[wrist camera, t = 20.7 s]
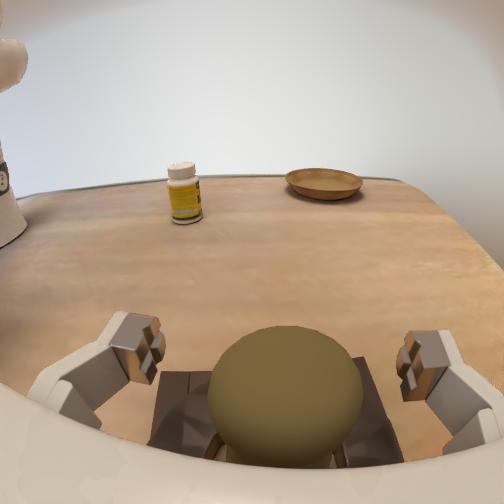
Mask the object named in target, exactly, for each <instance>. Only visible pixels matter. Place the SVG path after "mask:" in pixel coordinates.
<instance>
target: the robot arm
mask: <svg viewBox="0 0 504 504" xmlns="http://www.w3.org/2000/svg"><path fill="white" fill-rule="evenodd" d="M3 10H4V2H3V0H0V26H1V22H2V18H3ZM27 64H28V54H27V50H26V48H25V46H24V45H23V43H22V42H21V41H19V40H12V39H11V40H10V39H1V38H0V93H1V92H3V91H5V90H7V89H9V88H11V87H12V86H14V85H16V84H18V83H19V82H20V80H21V79H22V77H23V75H24V73H25V71H26V68H27ZM26 227H27V222H26V221H25V219H24V216H23V214H22V213H21V211H20V209H19V207H18V204H17V202H16V199H15V196H14V194H13V191H12V188H11V187H10V184H9V173H8V167H7V165H6V162H4V160H3V154H2V148H1V142H0V247H2V246H4V245H5V244H7V243H9V242H10V241H12V240H13V239H15V238H16V237H17V236H18V235H20V234H21V233H22V232H23V231H24V230H25V228H26ZM160 326H161V324H160V321H159V318H157V317H154V316H148V315H142V314H136V313H129V312H123V311H117V312H115V313H114V315H113V316H112V318H111V319H110V321H109V322H108V324H107V325H106V327H105V328H104V330H103V331H102V333H101V334H100V336H99V337H98V339H97V340H96V342H90V343H89V344H87V345H85V346H83V347H82V348H80V349H78V350H76V351H75V352H73V353H71V354H69V355H67V356H66V357H64V358H62V359H60V360H59V361H57V362H55V363H53V364H52V365H50V366H48V367H46V368H45V369H43V370H42V371H41V372H40V374H39V375H38V377H37V378H36V380H35V381H34V383H33V385H32V386H31V388H30V389H29V391H28V392H27V394H26V396H23V395H22V394H20V393H18V392H16V391H15V390H13V389H11V388H9V387H8V386H6V385H4V384H3V383H1V382H0V504H504V395H503V394H502V393H501V392H500V391H499V390H498V389H496V388H495V387H494V386H493V385H492V384H491V383H490V382H488V381H487V380H486V379H485V378H484V377H482V376H481V375H480V374H479V373H478V372H477V371H475V370H474V369H473V368H472V367H471V366H469V365H468V364H466V365H465V364H464V362H463V359H462V357H461V354H460V352H459V350H458V347H457V345H456V343H455V340H454V338H453V336H452V334H451V332H450V330H448V329H439V330H419V331H409V332H408V333H407V334H406V336H405V338H404V341H405V345H404V346H403V347H401V348H400V350H399V352H398V355H397V361H396V368H397V374H398V376H399V377H400V378H401V379H402V380H403V381H402V383H401V385H400V388H401V392H402V397H403V402H408V401H421V400H426V401H425V402H426V403H427V404H428V405H429V407H430V408H431V409H432V410H433V412H434V413H435V414H436V415H437V417H438V418H439V419H440V420H441V421H442V423H443V424H444V425H445V426H446V428H447V429H448V430H449V431H450V433H451V434H452V435H453V438H452V439H451V440H450V441H449V442H448V443H447V444H445V446H444V447H443V454H444V455H443V456H438V457H433V458H428V459H423V460H417V461H412V462H405V463H398V464H391V465H382V466H373V467H361V468H344V469H290V468H272V467H260V466H250V465H241V464H234V463H226V462H220V461H214V460H208V459H202V458H197V457H192V456H187V455H183V454H178V453H174V452H170V451H165V450H161V449H158V448H154V447H150V446H147V445H143V444H140V443H136V442H133V441H130V440H127V439H123V438H120V437H117V436H114V435H112V434H109V433H106V432H103V431H100V430H99V429H100V427H101V425H102V423H101V420H100V419H99V418H98V417H97V416H96V414H95V413H94V412H93V411H95V410H96V409H97V408H98V407H100V406H101V405H102V404H103V403H105V402H106V401H107V400H108V399H109V398H111V397H112V396H113V395H114V394H116V393H117V392H118V391H119V390H121V389H122V388H123V387H124V386H125V385H127V384H128V383H129V381H132V382H137V383H142V384H147V385H151V384H152V382H153V380H154V377H155V375H156V373H157V371H158V370H157V367H156V364H157V363H159V362H160V361H162V359H163V356H164V354H165V348H166V342H165V337H164V334H163V333H161V332H160V331H159V328H160Z"/></svg>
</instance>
